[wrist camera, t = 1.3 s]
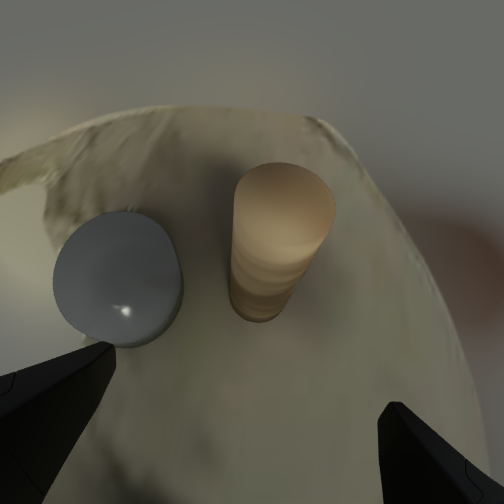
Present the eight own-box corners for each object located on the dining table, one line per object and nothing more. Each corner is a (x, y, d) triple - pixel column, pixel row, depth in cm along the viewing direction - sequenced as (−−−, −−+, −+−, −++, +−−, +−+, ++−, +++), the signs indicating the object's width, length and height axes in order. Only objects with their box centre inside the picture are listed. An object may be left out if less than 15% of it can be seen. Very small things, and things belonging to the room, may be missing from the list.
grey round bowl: (113, 372, 20) (92, 367, 16) (58, 280, 23) (36, 261, 19) (208, 296, 23) (205, 277, 20) (141, 217, 26) (131, 190, 23)
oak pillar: (256, 334, 22) (288, 266, 11) (218, 293, 24) (212, 193, 13) (296, 297, 24) (354, 206, 13) (258, 259, 25) (283, 149, 14)
